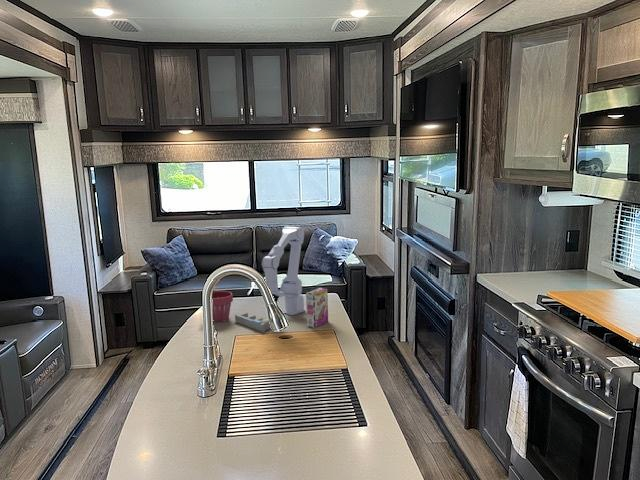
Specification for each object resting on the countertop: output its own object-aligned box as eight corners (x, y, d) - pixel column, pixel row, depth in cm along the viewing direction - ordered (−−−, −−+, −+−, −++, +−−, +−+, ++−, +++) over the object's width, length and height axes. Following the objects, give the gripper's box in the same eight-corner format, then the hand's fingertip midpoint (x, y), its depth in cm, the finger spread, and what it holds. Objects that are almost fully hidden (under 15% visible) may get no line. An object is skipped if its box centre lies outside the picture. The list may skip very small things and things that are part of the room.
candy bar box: (315, 328, 218) (313, 294, 215) (306, 326, 221) (305, 292, 218) (329, 321, 227) (327, 288, 224) (320, 319, 230) (319, 287, 227)
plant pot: (238, 315, 242) (236, 290, 240) (227, 324, 229) (225, 298, 227) (212, 314, 246) (210, 290, 243) (200, 323, 232) (197, 298, 230)
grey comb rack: (245, 318, 236) (244, 310, 235) (273, 328, 220) (272, 320, 220) (235, 321, 232) (234, 313, 231) (262, 332, 216) (262, 323, 215)
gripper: (255, 280, 226) (257, 308, 228) (274, 285, 216) (276, 314, 218) (267, 277, 231) (268, 304, 233) (286, 282, 220) (287, 310, 223)
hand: (273, 308), depth 226 cm, fingers closed
